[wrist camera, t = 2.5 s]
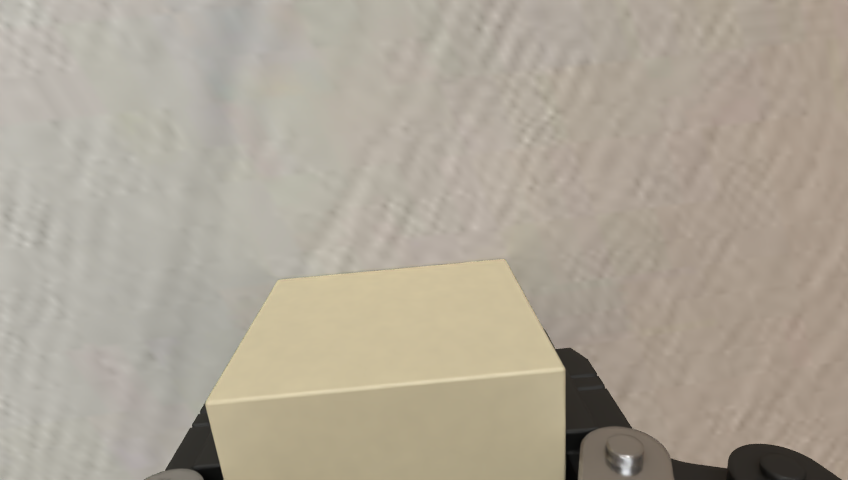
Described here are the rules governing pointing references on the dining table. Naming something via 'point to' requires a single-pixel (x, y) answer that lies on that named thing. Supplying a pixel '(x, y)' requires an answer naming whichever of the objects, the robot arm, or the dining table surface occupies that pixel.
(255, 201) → the dining table surface
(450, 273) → the cream cube with slot
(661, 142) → the dining table surface
